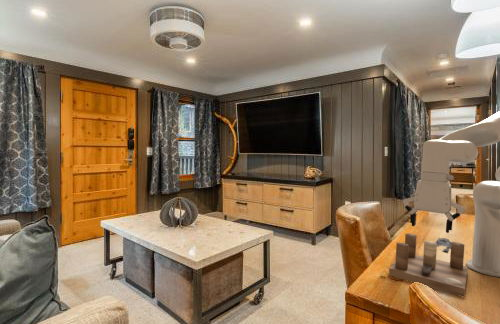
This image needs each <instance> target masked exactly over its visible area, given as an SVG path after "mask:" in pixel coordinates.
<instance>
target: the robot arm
mask: <svg viewBox="0 0 500 324" xmlns="http://www.w3.org/2000/svg"><path fill="white" fill-rule="evenodd" d="M499 142H500V110H499V111H498V112H496V113H494V114H492V115H491V116H489V117H488V118H486V119H483V120H481V121H479V122H478V123H475V124H472V125H469V126H466V127H464V128H460V129H457V130H455V131H453V132H452V131H451V132H448V133H447V134H445V135H444V136H442V137H440V138H438V139H430V140H426V141H424V142H423V144H422V145H423V146H422V155H421V156H422V157H421V169H420V179H419V180H417V184H416V188H415V193H414V196H412V197H407V198H405V199H402V203H403V206H404V207H405V209H406V211H408V213H409V216H410V217H409V223H410V224H411V227H415V226H416V224H417V223H416V222H417V212H418V211H421V212H427V213H429V212H430V213H434V214H435V213H436V214H443V215H444V216H445V217H447V218H446V219H447V220H446V223H445V224H446V225H445V233H447V234H448V233H449V232H450V231H452V230H453V221H455V220H456V219H457V218H459V217H460V216H461V215H462V214H463V212H464V211H465V207H463V206H462V205H460V204H458V203H456V202H454V201H452V185H451V184H452V183H450V182H449V181H454V176H455V175H451V174H449V171H450V170H449V169H450V163H451V164H458V165H459V164H462V165H465V164H470V163H472V162H473V161H475V160H476V159H477V157H478V155H479V149H478V148H480V147H482V148H483V147H485V146H486V147H487V146H491V145H495V144H497V143H499ZM494 175H495V176H494V177H495V180H483V181H480V182H478V183H477V184H476V185H475V186H474V188H473V190H472V199H473V204H474V224H473V225H474V226H473V227H474V228H473V241H472V252H471V253H472V254H471V259H468V260H466V264H465V266H467V267H468V268H469V269H471V270H472V271H474V272H475V271H476V272H477V273H479V274H484V275H486V276H487V275H488V276H490V277H491V276H492V277H497V278H500V166H498V168H497V169H496V171H495V174H494ZM410 202H413V208H412V207H411V205H410ZM452 207H453V208H455V209H457V211H456V212H455V213H454V214H452V213H451V212H450V211H451V209H452Z"/></svg>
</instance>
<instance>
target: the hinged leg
mask: <svg viewBox="0 0 500 324" xmlns="http://www.w3.org/2000/svg"><path fill="white" fill-rule="evenodd" d="M435 242H436V241H431V240H425V241H423V266H424V267H423V268H422V273H423V274H426V275H430V272H431V270H432V268H436V260H437V251H438V250H437V249H438V247H437V243H435Z"/></svg>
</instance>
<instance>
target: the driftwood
mask: <svg viewBox="0 0 500 324" xmlns="http://www.w3.org/2000/svg"><path fill="white" fill-rule="evenodd" d="M434 242H435V243H437V248H438V247H446V248H443V249H438V251H441V252H447V253H448V252H449V250H451V242H452V241H451V240H450V239H449V238H447V237H445V238H444V237H438V238H437V240H436V241H434Z"/></svg>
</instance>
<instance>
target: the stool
mask: <svg viewBox="0 0 500 324" xmlns="http://www.w3.org/2000/svg"><path fill="white" fill-rule="evenodd" d="M417 236H418V235H416V234H413V233H407V232H406V233H405V236H404V238H405V239H404V242H396V247H395V249H396V250H395V251H396V252H395V260H394V262H393V263H392V265H390V267H389V268H388V276H389V277H392V276H393V277H392V278H395V277H396V279H399V278H400V279H399V280H402V279H404V280H403V281H406V280H408V281H407V282H409V281H412V282H411V283H413V282H419V283H422V284H424V285H427V286H429V287H428V288H430V287H431V288H430V289H434V290H438V291H441V292H444V293H448V294H452V295H455V294H456V295H455V296H458V295H460V296H459V297H462V296H464V297H465V296H466V288H465V287H466V286H467V279H468V268H469V267H468V266H467V265H464V259H465V257H464V256H465V244H464V243H461V242H457V241H450V242H451V248H450V257H449V260H450V261H449V262H448V261H444V260H440V259H436V268H432V270H431V272H430V275H426V274H423V273H422V268H423V267H424V266H423V256H422V255H418V254H417V253H416V252H417V238H418V237H417ZM427 286H426V287H427Z"/></svg>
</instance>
